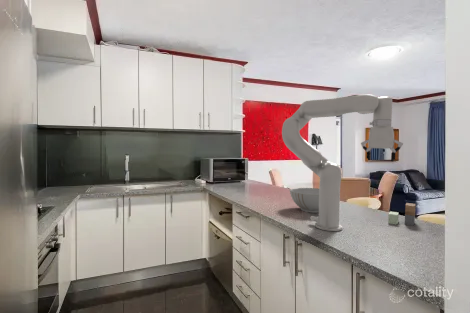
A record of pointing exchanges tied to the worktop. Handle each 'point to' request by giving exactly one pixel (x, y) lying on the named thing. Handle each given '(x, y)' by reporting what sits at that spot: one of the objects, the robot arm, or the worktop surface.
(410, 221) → the charcoal brick
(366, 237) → the worktop surface
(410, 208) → the walnut brick
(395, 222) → the sage brick
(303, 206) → the decorative bowl
